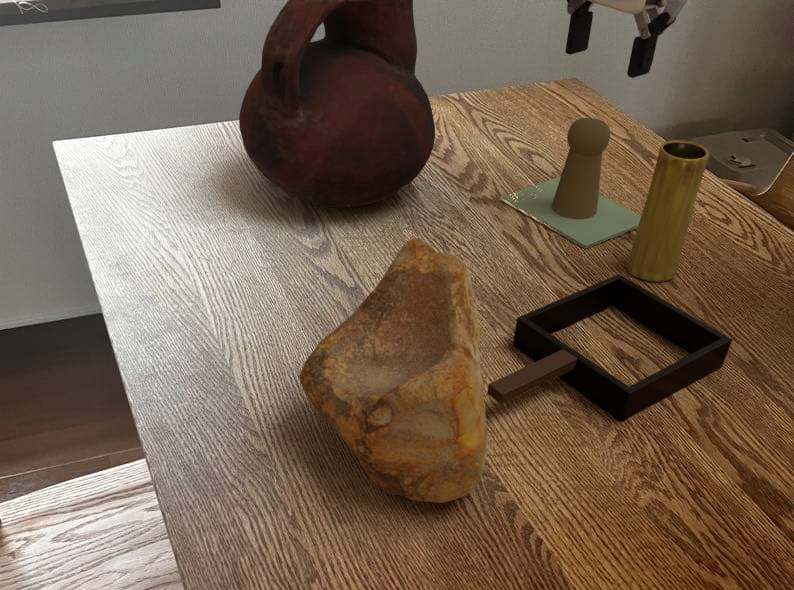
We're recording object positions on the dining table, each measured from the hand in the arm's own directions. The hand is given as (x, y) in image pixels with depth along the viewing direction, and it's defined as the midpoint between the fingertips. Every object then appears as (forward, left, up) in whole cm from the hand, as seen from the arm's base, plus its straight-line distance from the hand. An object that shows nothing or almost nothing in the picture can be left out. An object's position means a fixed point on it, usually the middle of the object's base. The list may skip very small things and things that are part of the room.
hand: (606, 63), depth 96 cm
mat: (0, 0, -18) cm, 18 cm away
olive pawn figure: (0, 0, -18) cm, 18 cm away
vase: (+3, +16, -18) cm, 24 cm away
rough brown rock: (+47, +22, -18) cm, 55 cm away
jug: (+22, -23, -18) cm, 37 cm away
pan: (+25, +26, -18) cm, 40 cm away
